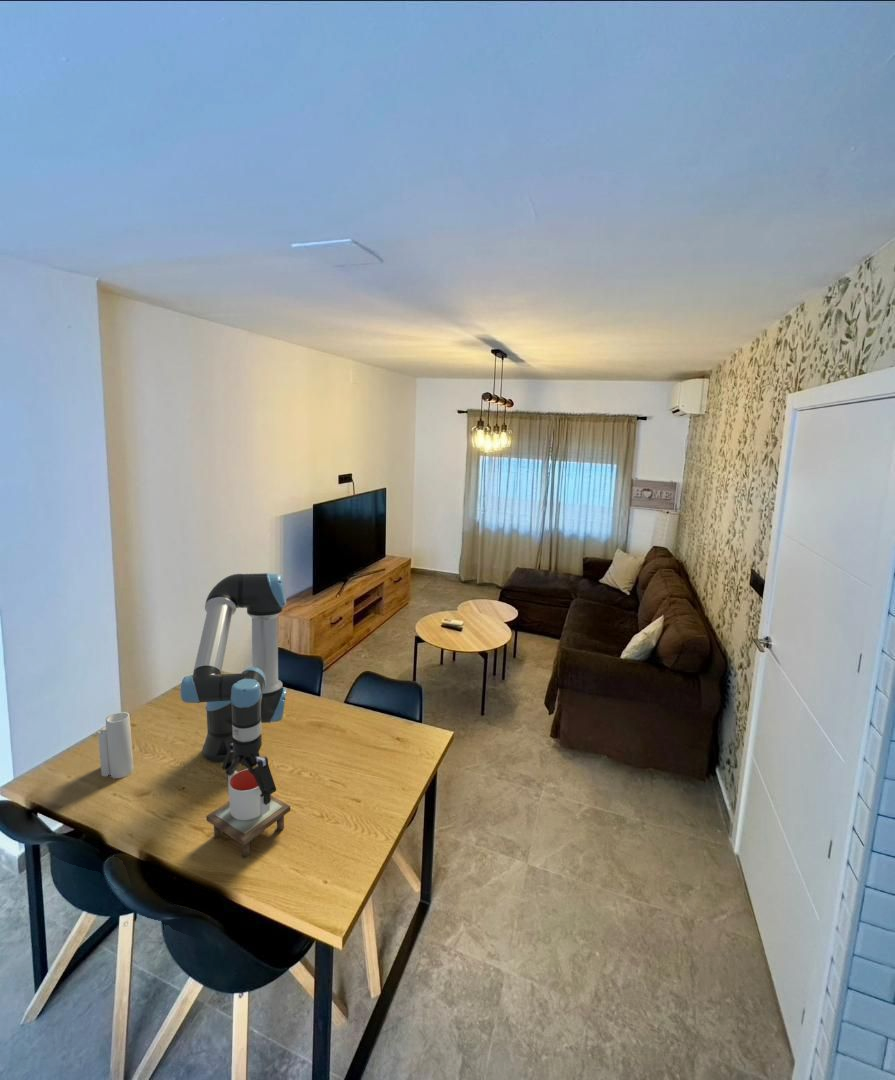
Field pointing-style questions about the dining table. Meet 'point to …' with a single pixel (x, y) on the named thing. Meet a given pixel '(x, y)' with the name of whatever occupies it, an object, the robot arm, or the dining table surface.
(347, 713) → the dining table surface
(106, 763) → the vase
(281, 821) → the footstool
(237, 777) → the cup
